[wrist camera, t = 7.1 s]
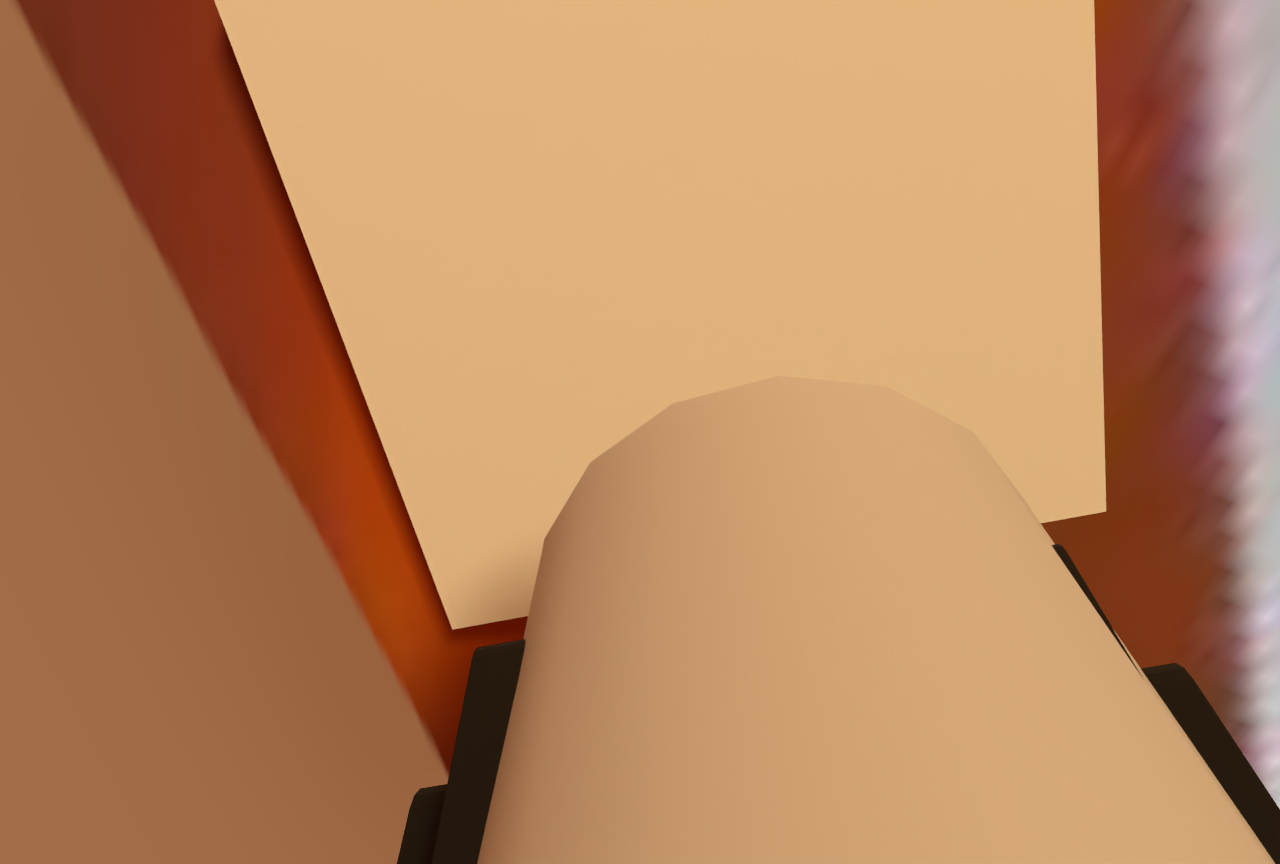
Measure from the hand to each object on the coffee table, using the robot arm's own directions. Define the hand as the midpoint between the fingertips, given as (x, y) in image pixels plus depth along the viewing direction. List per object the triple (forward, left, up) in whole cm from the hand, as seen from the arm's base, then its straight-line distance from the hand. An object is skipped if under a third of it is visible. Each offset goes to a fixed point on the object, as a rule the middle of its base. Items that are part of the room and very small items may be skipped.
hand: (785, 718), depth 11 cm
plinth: (0, 0, -16) cm, 16 cm away
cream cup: (0, 0, -2) cm, 2 cm away
